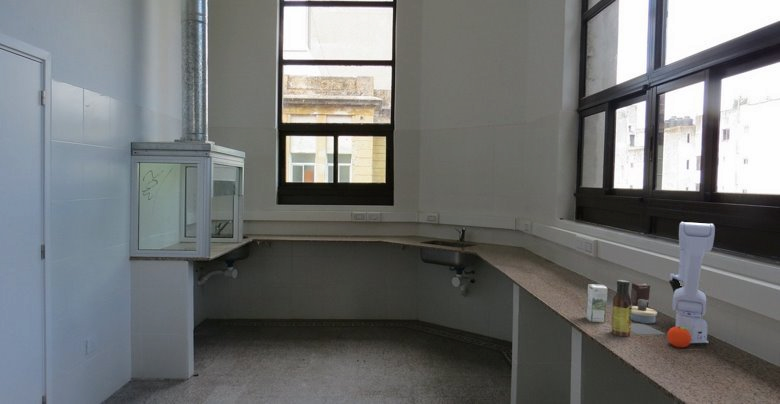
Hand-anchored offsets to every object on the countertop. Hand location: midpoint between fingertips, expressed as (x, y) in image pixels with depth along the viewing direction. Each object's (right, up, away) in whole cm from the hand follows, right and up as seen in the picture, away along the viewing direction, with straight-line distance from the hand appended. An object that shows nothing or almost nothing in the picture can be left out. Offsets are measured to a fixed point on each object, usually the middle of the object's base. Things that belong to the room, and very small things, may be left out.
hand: (685, 301), depth 174 cm
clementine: (-17, -11, -23) cm, 30 cm away
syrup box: (-34, -9, +4) cm, 35 cm away
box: (-6, -10, +22) cm, 25 cm away
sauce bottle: (-32, -10, -12) cm, 35 cm away
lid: (-13, -6, +7) cm, 16 cm away
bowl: (-13, -10, +7) cm, 18 cm away
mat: (-21, -10, -5) cm, 24 cm away
